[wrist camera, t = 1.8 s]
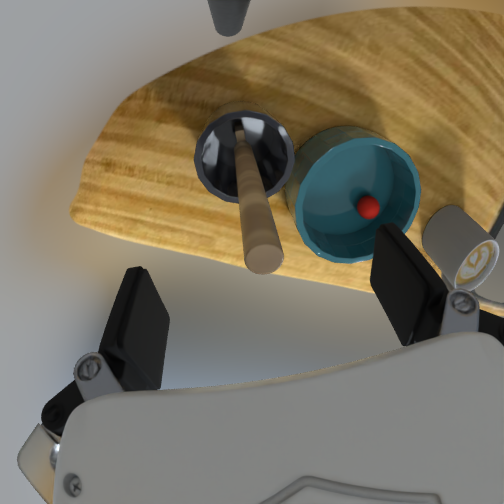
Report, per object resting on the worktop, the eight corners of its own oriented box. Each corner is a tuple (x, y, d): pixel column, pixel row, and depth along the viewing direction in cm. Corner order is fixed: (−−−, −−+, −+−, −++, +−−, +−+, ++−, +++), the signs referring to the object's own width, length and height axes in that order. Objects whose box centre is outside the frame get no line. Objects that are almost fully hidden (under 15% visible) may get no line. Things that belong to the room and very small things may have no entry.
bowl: (277, 132, 30) (288, 145, 25) (398, 123, 29) (425, 136, 24) (290, 245, 39) (299, 273, 34) (391, 227, 38) (410, 251, 34)
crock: (196, 109, 27) (184, 122, 20) (271, 95, 27) (288, 104, 20) (211, 176, 32) (206, 211, 25) (281, 164, 32) (298, 195, 25)
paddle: (230, 123, 28) (236, 225, 10) (244, 120, 28) (279, 217, 10) (236, 153, 30) (251, 294, 13) (250, 151, 30) (287, 288, 12)
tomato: (353, 193, 34) (363, 203, 32) (374, 190, 34) (384, 200, 32) (353, 213, 36) (362, 225, 33) (373, 210, 36) (382, 221, 33)
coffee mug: (432, 203, 36) (471, 239, 28) (470, 206, 37) (507, 239, 29) (408, 271, 44) (435, 312, 36) (446, 268, 45) (473, 304, 37)
